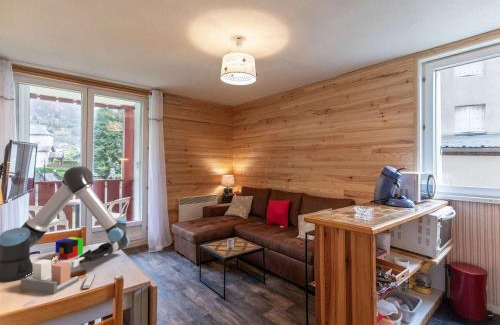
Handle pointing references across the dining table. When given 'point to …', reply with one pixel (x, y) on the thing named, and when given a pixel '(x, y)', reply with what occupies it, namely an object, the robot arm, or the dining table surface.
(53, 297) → the dining table surface
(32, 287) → the base
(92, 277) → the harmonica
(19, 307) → the dining table surface
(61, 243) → the puzzle toy
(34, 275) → the white rectangular block
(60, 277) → the salmon pink block
